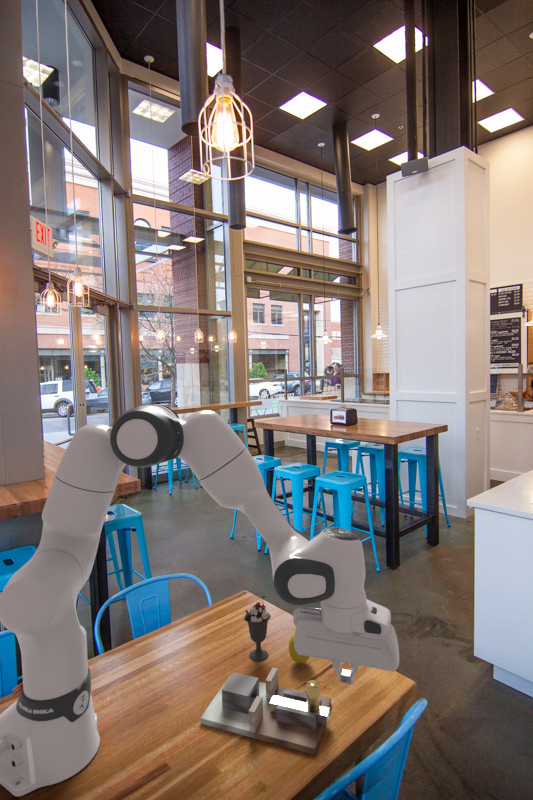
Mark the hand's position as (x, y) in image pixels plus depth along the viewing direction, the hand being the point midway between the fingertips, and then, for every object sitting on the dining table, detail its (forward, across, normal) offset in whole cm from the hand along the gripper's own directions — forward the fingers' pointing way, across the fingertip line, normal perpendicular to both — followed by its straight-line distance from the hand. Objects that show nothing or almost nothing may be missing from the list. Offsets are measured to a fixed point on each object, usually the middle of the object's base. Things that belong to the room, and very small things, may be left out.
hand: (346, 681), depth 86 cm
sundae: (+10, -26, +18) cm, 33 cm away
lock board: (+10, -17, 0) cm, 20 cm away
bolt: (+9, -10, 0) cm, 13 cm away
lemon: (+10, -15, +18) cm, 25 cm away
